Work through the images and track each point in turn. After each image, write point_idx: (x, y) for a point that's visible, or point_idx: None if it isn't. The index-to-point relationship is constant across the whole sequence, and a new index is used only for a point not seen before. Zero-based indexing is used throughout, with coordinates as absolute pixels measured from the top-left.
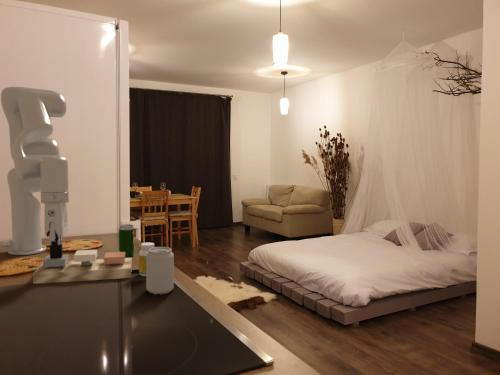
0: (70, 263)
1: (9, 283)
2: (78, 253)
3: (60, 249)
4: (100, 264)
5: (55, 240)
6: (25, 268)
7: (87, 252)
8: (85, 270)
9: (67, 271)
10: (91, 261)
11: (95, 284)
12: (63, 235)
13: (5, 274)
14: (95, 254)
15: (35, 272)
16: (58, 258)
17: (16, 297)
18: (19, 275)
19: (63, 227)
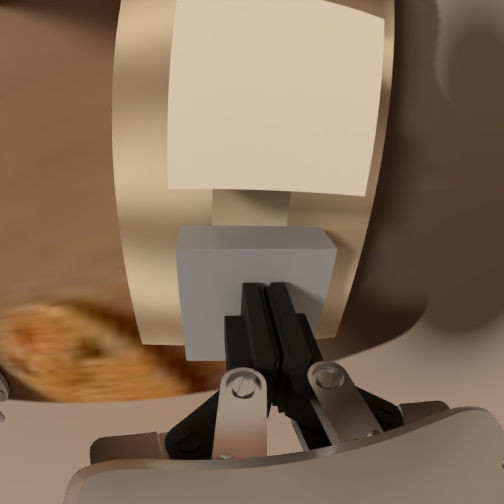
0: (190, 204)
1: None
2: (307, 160)
3: (299, 330)
4: None
5: (408, 412)
6: (113, 363)
7: (288, 72)
8: (385, 103)
9: (370, 201)
10: (166, 64)
11: (418, 69)
12: (453, 412)
13: (181, 394)
14: (369, 15)
15: (323, 334)
16: (293, 294)
17: (420, 311)
18: (198, 366)
19: (492, 487)
